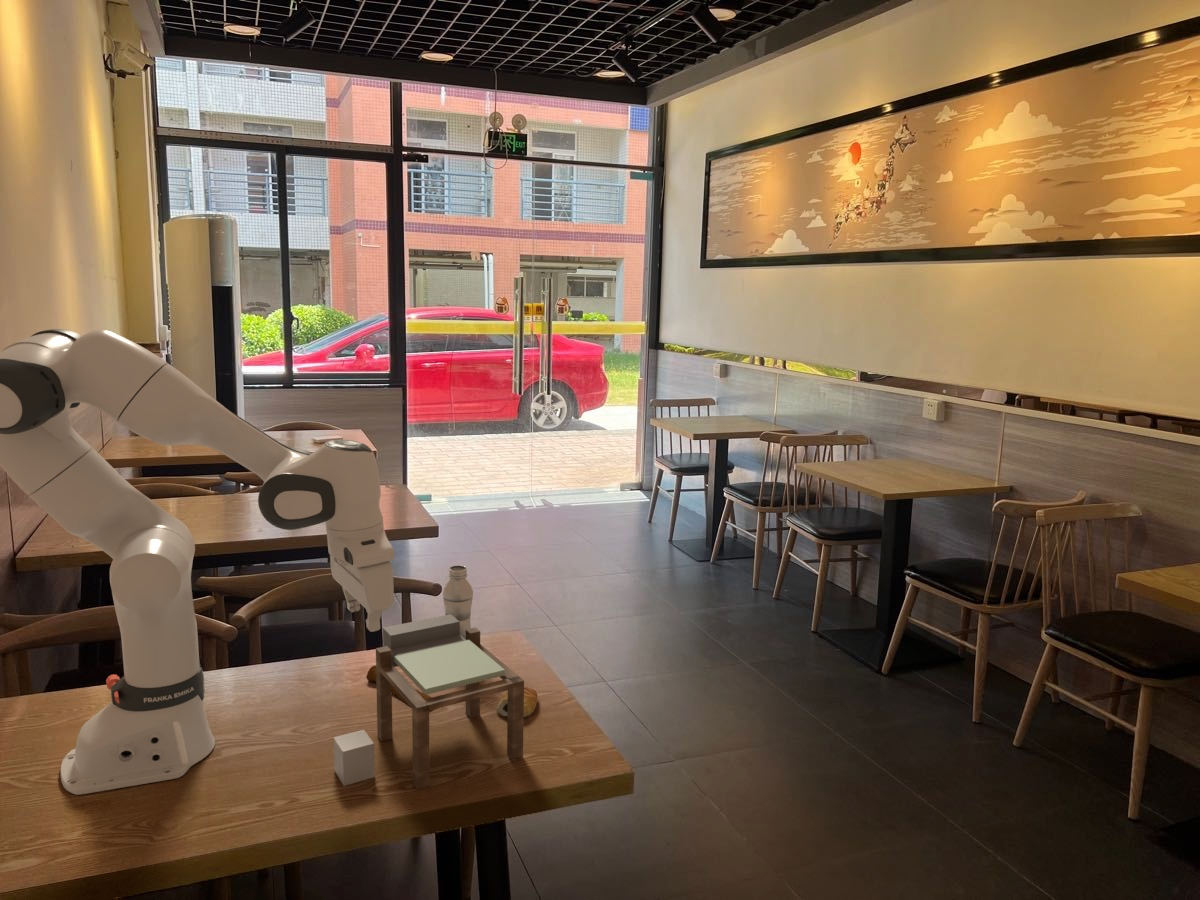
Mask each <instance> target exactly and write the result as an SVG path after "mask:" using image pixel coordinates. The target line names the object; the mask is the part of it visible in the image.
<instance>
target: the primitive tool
mask: <svg viewBox="0 0 1200 900" xmlns="http://www.w3.org/2000/svg"><path fill="white" fill-rule="evenodd" d="M366 679H367V681H368V682H370V681H371V683H376V664H374V665H372V666H371V667H369V670H368V671H367V674H366ZM414 689H415V690H416V691H417V692H418V693H419V694H420V696H421V697H422V698H423V699H428V698H432V697H433V696H431V695H429V694H427V695H425V694H424V693H423V692H422V691H421V690H419V689H416V688H414ZM392 695H395V696H396V697H397V698H399V699H400V700H401V701H403V703H405V704H407V705H408V706H409V707H410V705H409V704H408V703H407V702H406V701H405V700H404V699H403V697H402V696H401V695H400V694H399V693H398V692H397V691H396V689H395V688H394V687H393V686H392ZM436 710H437V709H434V710H430V711H429V713H432V712H434V711H436Z"/></svg>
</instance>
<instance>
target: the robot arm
mask: <svg viewBox="0 0 1200 900" xmlns="http://www.w3.org/2000/svg"><path fill="white" fill-rule="evenodd" d="M80 404H88V405H90V406H92V407H94V408H96V409H97V410H99V411H101V412H102V413H104V414H105V415H107V417H108V416H109V418H111V419H113V421H115V422H117V423H118V424H120V425H121V426H123V427H124V428H125V429H127V430H129V431H130V432H132V433H134V434H136V435H137V436H139V437H142V438H143V439H145V440H148V441H151V442H152V443H155V444H158V445H161V446H182V445H184V446H185V445H192V446H193V445H194V446H202V447H206V448H210V449H212V450H215V451H217V452H219V453H221V454H223V455H224V456H226V457H228V458H229V459H231V460H233V461H234V462H235V463H238V465H241V466H242V467H244V468H245V469H247V470H248V471H250V472H252V473H254V474H255V475H257V476H258V477H259V478H260V479H261V480H262V481H263V484H262V486H261V487H260V490H259V492H258V497H257V501H258V502H257V503H258V508H259V512H260V513H261V515H262V516H263V518H264V519H265V521H267V522H268V523H269V524H270V525H272V526H274V527H275V528H278V529H280V530H287V531H293V530H294V531H295V530H299V529H304V528H308V527H311V526H315V525H319V524H323V523H325V529H326V530H325V531H326V540H327V548H328V555H329V558H330V560H329V561H330V570H331V575H332V578H333V580H335V581H336V582H337V583H338V584H339V585H340V586H341V587H342V592H343V594H344V597H345V600H346V608H347V610H348V611H349V612H350V613H355V612H359V611H360V610H361V606H362V607H363V608H365V610H366V613H367V618H366V619H365V623H366V629H367V630H368V631H369V632H371V633H372V632H377V631H379V630H380V629H381V617H382V613H383V612H386V611H390V610H391V609H392V608H393V605H394V599H395V597H394V596H395V595H394V593H395V591H394V589H395V588H394V571H393V566H392V563H391V561H393V560H395V549H394V547H393V546H392V544H391V542H390V540H389V539H388V537H387V534H386V530H385V528H384V517H383V513H382V512H381V508H380V502H381V501H380V499H381V495H382V492H381V480H380V474H379V467H378V464H377V459H376V456H375V453H374V452H373V451H372V449H371V448H370V447H369V446H368V445H367V444H365V443H362V442H359V441H356V440H351V439H336V440H335V439H332V440H331V439H330V440H328V441H325V442H324V443H322V445H321V446H320V447H319V448H317V449H316V450H314V451H313V452H312V451H310V450H305V449H300V448H296V447H292V446H289V445H287V444H284V443H282V442H280V441H278V440H276V439H275V438H273V437H272V436H270V435H269V434H267V433H265V432H264V431H263V430H261V429H259V428H257V427H256V426H254V425H253V424H251V423H250V422H248V421H247V420H246V419H244V418H242V417H240V416H239V415H237V414H236V413H234V412H233V411H231V410H229V409H228V408H226V407H225V406H224V405H223V404H221V402H218V400H216V399H215V398H214V397H212V396H211V395H210V394H208V393H207V392H206V391H205V390H204V389H202V388H201V387H200V386H199V385H197V384H196V383H195V382H194V381H193V380H192V379H190V378H189V377H188V376H186V375H185V374H184V373H183V372H181V371H180V370H179V369H177V368H176V367H175V366H173V365H171V364H170V363H169V362H167V361H166V360H164V359H163V358H162V357H159V356H158V355H157V354H155V353H153V352H152V351H150V350H148V349H147V348H145V347H144V346H142V345H140V344H138V343H136V342H134V341H133V340H130V339H128V338H127V337H124V336H123V335H120V334H118V333H116V332H114V331H111V330H106V329H97V330H92V331H88V332H87V333H85V334H83V335H81V334H79V333H78V332H75V331H73V330H68V329H61V328H53V329H52V328H51V329H45V330H41V331H38V332H35V333H34V334H32V335H31V336H29V337H26V338H23V339H20V340H18V341H16V342H14V343H11V344H10V345H8V346H6V347H4V348H3V349H2V350H1V351H0V467H1V468H2V470H3V471H4V472H5V473H6V474H7V475H8V476H9V478H10V479H11V480H12V481H13V482H14V483H15V484H16V485H17V486H18V487H19V489H20V490H21V491H23V493H25V494H26V495H27V496H28V497H29V498H30V499H31V500H32V501H33V502H34V504H37V505H38V506H39V508H41V509H42V510H43V512H45V513H46V514H47V515H48V516H50V518H51V519H53V520H54V521H55V522H56V523H57V524H58V525H59V526H61V528H62V529H64V530H65V531H66V532H67V533H68V534H70V535H72V536H75V537H79V538H81V539H82V540H85V541H87V542H88V543H90V544H91V545H93V546H95V547H96V548H98V549H100V550H101V551H103V552H104V553H105V554H107V555H108V556H109V557H110V558H111V559H112V562H111V564H110V567H109V583H110V589H111V595H112V600H113V604H114V605H113V606H114V610H115V613H116V618H117V623H118V626H119V632H120V638H121V650H122V662H123V674H124V675H123V676H122V677H121V678H120V676H118V674H110V675H109V676H107V678H106V680H105V683H106V687H107V690H110V696H111V701H110V702H108V704H106V706H104V707H103V708H102V709H101V710H99V711H98V712H97V713H96V714H95V715H93V716H92V717H91V718H90V719H88V720H87V721H85V723H84V724H83V725H82V727H81V728H80V731H78V732H79V733H78V735H77V738H76V744H75V748H73V749H71V750H70V751H69V752H68V753H67V754H66V755H65V756H64V757H63V759H62V762H61V765H60V781H61V784H62V787H63V788H64V789H65V791H67V792H69V793H71V794H73V795H77V796H78V795H79V796H80V795H86V794H92V793H98V792H104V791H110V790H115V789H120V788H121V789H122V788H128V787H134V786H139V785H140V786H141V785H146V784H150V783H157V782H162V781H163V782H165V781H168V780H174V779H175V780H176V779H179V778H181V777H182V776H183V777H184V775H185V774H186V773H187V772H188V771H189V769H190V768H191V767H192V766H194V765H196V764H197V763H198V762H200V761H202V760H203V759H204V758H206V757H207V756H208V755H209V754H210V753H211V752H213V750H214V748H215V744H216V739H215V737H214V735H213V733H212V730H211V727H210V725H209V722H208V721H209V720H208V718H207V715H206V709H205V704H204V699H205V693H206V692H205V691H206V689H205V688H206V687H205V677H204V676H205V675H204V670H203V668H202V664H201V663H200V656H199V655H200V654H199V650H200V649H199V639H198V638H199V637H198V623H197V618H196V613H195V606H194V599H193V592H192V589H193V588H192V578H191V577H192V569H193V562H194V561H193V560H194V556H195V554H196V553H195V552H196V543H195V539H194V536H193V534H192V533H191V530H190V529H189V528H188V526H187V525H186V524H185V522H183V520H182V521H181V519H178V518H177V517H175V516H172V514H170V513H169V512H168V511H167V510H165V509H164V508H162V507H161V506H160V505H159V504H157V503H156V502H155V501H154V500H152V499H151V498H149V497H148V496H146V495H145V494H144V493H143V492H141V491H140V490H138V489H137V488H135V486H133V484H131V483H130V482H129V481H127V480H126V479H125V478H124V477H123V476H122V475H121V474H120V473H119V472H118V471H117V470H116V469H115V468H114V467H113V466H112V465H111V464H110V463H109V462H108V461H107V460H106V459H105V458H104V457H103V455H101V454H100V453H99V452H97V449H95V448H94V447H92V445H90V444H89V443H88V442H87V441H86V440H85V439H84V438H83V436H81V435H80V434H79V433H78V432H77V431H76V430H75V429H74V427H73V426H72V424H71V422H70V419H69V411H70V409H75V408H77V407H79V406H80Z"/></svg>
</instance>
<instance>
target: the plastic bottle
mask: <svg viewBox="0 0 1200 900" xmlns="http://www.w3.org/2000/svg"><path fill="white" fill-rule="evenodd" d="M467 569H468V568H467V567H466V566H465V565H460V564H458V565H451V566H450V567H449V569H448V572H449V573H448V578H449V580H448V581H447V583H446V584H445V586H444V587H443V590H442V599H443V600H442V601H443V607H444V616H445V615H450V614H451V615H452V616H453V617H455V618H456V619H457V620H458V621H460V635H461V636H462V637H463V638H464V639H466V629H470V628H472V627H471V624H472V623H471V612H472V604H473V597H474V590H473V587H472V585H471V583H470V582H469V581H468V580H467V579H466V578H468V574H467Z"/></svg>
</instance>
